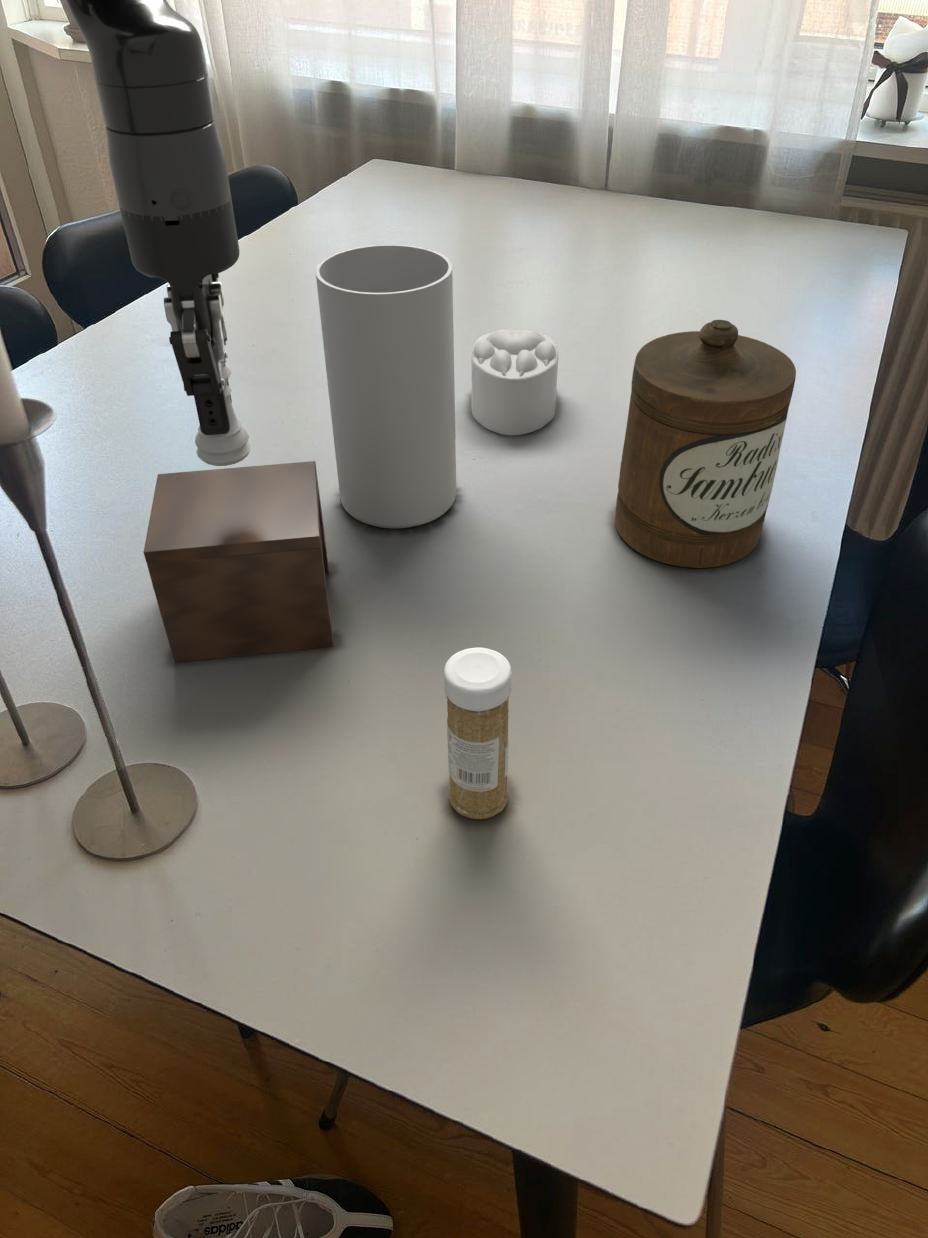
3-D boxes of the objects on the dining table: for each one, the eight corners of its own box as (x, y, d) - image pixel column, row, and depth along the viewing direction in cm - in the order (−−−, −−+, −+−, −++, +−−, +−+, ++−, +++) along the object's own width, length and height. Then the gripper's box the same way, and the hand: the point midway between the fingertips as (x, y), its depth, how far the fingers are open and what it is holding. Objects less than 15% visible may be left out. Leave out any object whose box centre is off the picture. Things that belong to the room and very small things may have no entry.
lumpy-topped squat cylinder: (555, 386, 124) (559, 321, 119) (555, 436, 114) (559, 368, 109) (475, 384, 125) (474, 319, 119) (467, 433, 115) (467, 366, 110)
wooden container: (678, 587, 92) (715, 373, 78) (586, 513, 102) (603, 311, 88) (791, 540, 98) (844, 333, 84) (693, 474, 108) (726, 278, 93)
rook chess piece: (253, 464, 78) (237, 372, 73) (196, 471, 77) (177, 377, 72) (251, 438, 81) (236, 347, 76) (197, 443, 80) (178, 352, 75)
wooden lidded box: (173, 663, 85) (143, 552, 77) (183, 580, 94) (157, 473, 86) (333, 646, 86) (319, 536, 78) (328, 566, 95) (315, 460, 87)
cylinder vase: (478, 489, 106) (478, 259, 90) (412, 545, 98) (398, 304, 82) (386, 457, 111) (371, 236, 95) (316, 508, 103) (287, 276, 87)
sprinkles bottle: (518, 788, 73) (523, 657, 65) (490, 831, 70) (492, 700, 62) (465, 766, 75) (464, 636, 66) (436, 807, 72) (430, 676, 63)
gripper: (130, 167, 71) (176, 384, 82) (103, 230, 60) (161, 470, 71) (233, 162, 72) (266, 378, 83) (225, 224, 61) (264, 461, 72)
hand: (217, 419), depth 77 cm, fingers closed on rook chess piece, 3 cm apart
